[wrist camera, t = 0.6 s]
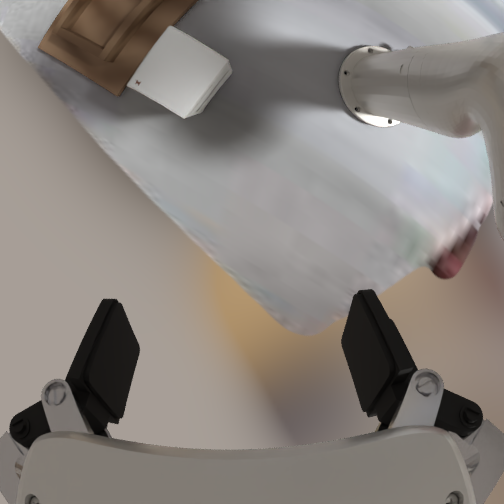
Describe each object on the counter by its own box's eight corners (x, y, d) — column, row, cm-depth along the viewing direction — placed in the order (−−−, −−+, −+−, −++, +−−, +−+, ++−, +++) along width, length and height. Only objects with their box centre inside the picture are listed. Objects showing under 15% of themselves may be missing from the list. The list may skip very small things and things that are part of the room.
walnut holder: (115, -49, 16) (105, -58, 13) (209, -11, 24) (206, -21, 20) (41, 47, 24) (26, 47, 21) (119, 96, 31) (107, 97, 28)
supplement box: (201, 114, 34) (183, 122, 23) (159, 87, 31) (123, 85, 21) (235, 72, 31) (231, 60, 20) (191, 45, 28) (167, 23, 18)
